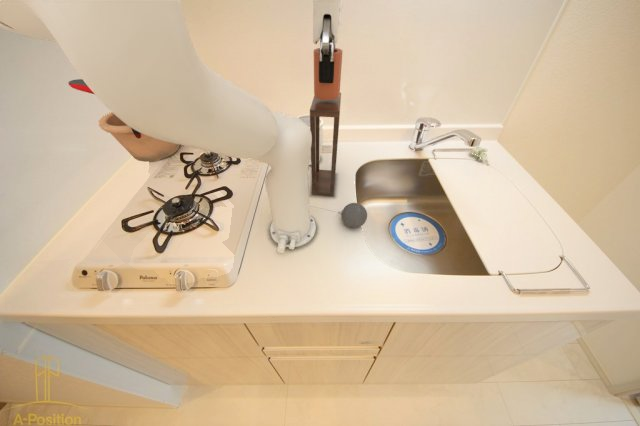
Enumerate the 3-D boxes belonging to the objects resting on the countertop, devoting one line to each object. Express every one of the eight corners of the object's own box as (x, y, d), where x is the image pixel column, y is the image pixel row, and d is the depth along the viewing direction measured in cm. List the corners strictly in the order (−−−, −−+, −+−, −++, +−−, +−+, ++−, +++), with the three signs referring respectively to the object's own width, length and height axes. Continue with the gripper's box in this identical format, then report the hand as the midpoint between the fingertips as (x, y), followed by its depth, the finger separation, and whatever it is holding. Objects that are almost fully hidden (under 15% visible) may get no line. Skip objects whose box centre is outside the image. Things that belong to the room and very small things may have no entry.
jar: (292, 155, 86) (288, 117, 75) (315, 149, 89) (315, 112, 78) (302, 169, 79) (299, 130, 68) (327, 163, 82) (328, 124, 71)
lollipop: (292, 226, 59) (301, 236, 65) (367, 220, 54) (368, 231, 60) (295, 197, 63) (303, 208, 69) (364, 188, 58) (366, 201, 64)
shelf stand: (333, 196, 70) (339, 111, 50) (312, 195, 70) (309, 109, 50) (335, 174, 78) (341, 92, 58) (316, 172, 78) (315, 91, 58)
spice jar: (338, 100, 51) (342, 54, 44) (312, 99, 51) (312, 53, 45) (339, 91, 55) (342, 47, 48) (315, 90, 55) (315, 47, 49)
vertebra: (484, 157, 79) (494, 149, 78) (468, 147, 83) (477, 140, 83) (483, 166, 84) (492, 159, 83) (468, 156, 88) (476, 150, 88)
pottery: (129, 173, 77) (98, 135, 66) (123, 147, 89) (97, 111, 79) (192, 153, 86) (174, 117, 75) (179, 132, 98) (162, 98, 87)
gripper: (314, -39, 43) (315, 67, 56) (301, -45, 32) (306, 90, 45) (352, -39, 43) (344, 68, 56) (352, -45, 31) (342, 91, 44)
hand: (327, 76), depth 50 cm, fingers closed on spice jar, 6 cm apart
